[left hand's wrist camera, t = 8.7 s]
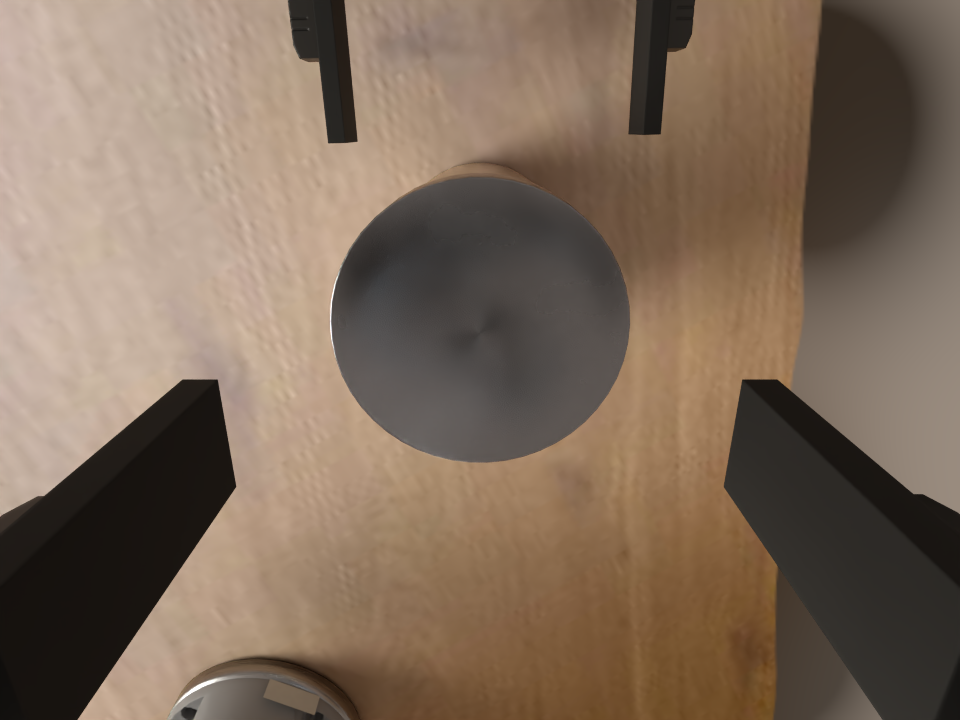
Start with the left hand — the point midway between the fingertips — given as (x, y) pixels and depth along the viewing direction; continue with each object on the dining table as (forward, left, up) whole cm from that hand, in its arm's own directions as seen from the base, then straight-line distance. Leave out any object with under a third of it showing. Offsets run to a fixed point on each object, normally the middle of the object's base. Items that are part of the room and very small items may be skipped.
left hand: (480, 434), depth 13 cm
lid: (0, 0, -7) cm, 7 cm away
